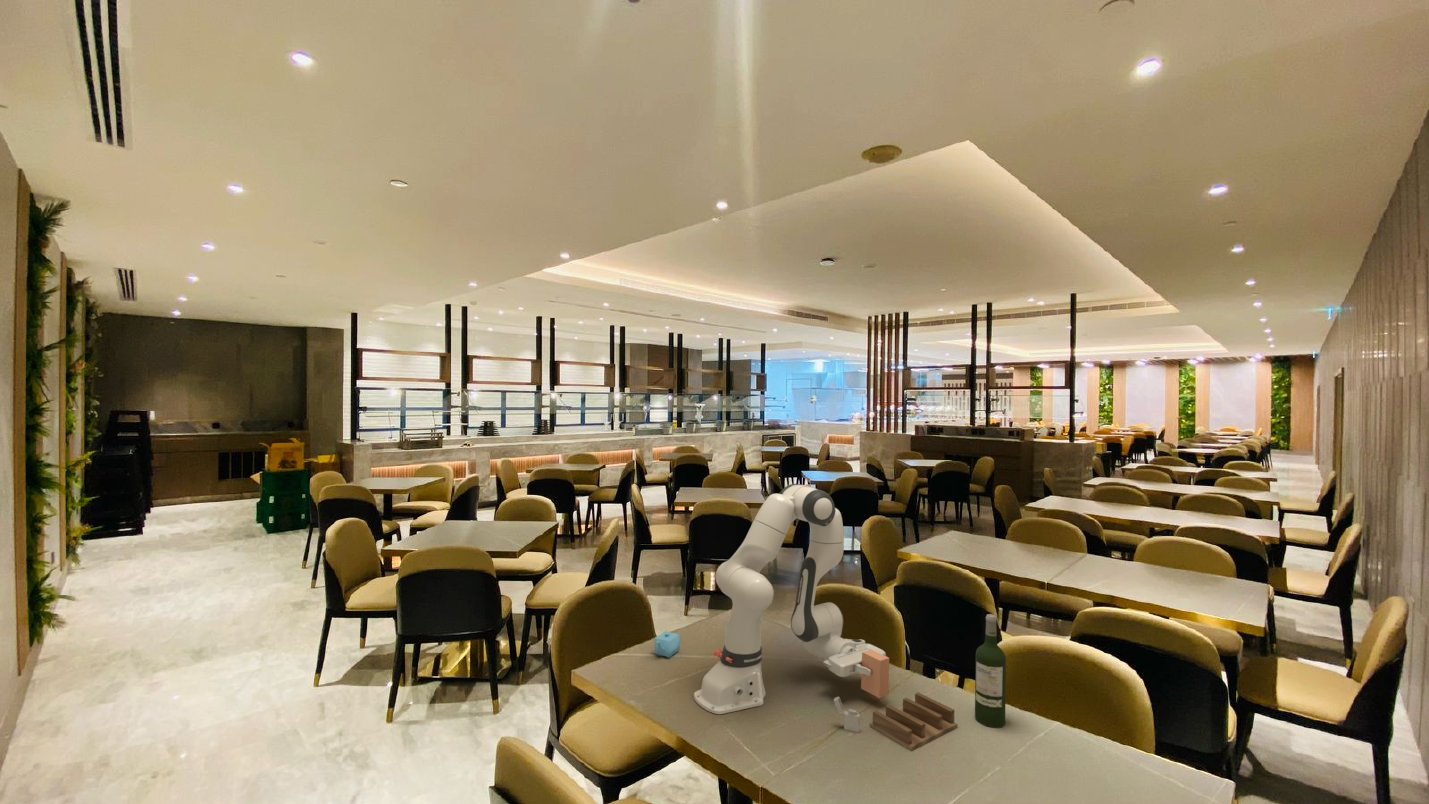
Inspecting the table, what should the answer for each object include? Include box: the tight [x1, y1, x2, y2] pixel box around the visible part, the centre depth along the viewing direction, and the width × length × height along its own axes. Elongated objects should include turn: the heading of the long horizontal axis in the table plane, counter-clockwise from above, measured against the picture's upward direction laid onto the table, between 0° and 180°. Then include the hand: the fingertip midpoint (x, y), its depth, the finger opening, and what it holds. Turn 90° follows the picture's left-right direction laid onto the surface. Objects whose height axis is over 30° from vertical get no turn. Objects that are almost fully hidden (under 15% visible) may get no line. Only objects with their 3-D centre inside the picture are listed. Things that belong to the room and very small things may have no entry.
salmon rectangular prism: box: [860, 650, 890, 699], centre depth 183 cm, size 4×7×11 cm, turn 34°
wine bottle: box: [974, 613, 1007, 729], centre depth 173 cm, size 8×8×30 cm
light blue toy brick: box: [654, 630, 681, 659], centre depth 216 cm, size 12×6×8 cm, turn 153°
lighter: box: [833, 696, 861, 733], centre depth 169 cm, size 7×2×8 cm, turn 66°
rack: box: [869, 692, 958, 752], centre depth 170 cm, size 20×14×4 cm
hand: (877, 670), depth 182 cm, fingers closed on salmon rectangular prism, 4 cm apart
